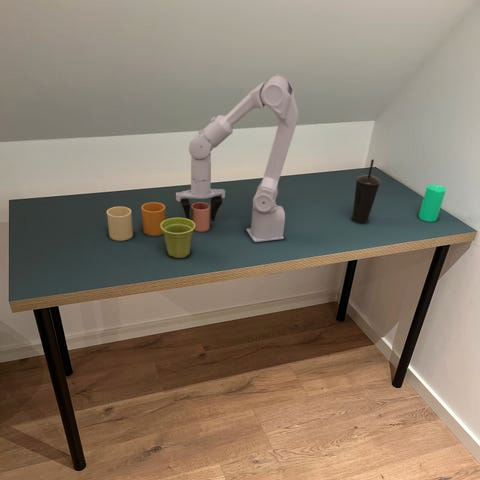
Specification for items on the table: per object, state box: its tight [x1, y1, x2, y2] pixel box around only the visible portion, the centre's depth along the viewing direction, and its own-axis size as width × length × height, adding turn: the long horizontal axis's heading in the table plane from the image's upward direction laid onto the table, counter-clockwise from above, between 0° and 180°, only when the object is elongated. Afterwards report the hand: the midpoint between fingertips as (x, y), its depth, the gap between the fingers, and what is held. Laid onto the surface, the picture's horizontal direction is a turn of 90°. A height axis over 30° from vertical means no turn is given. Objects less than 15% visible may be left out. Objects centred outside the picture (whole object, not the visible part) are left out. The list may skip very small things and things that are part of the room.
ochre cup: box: [140, 201, 167, 237], centre depth 151 cm, size 7×7×8 cm
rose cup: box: [190, 201, 211, 232], centre depth 155 cm, size 6×6×7 cm
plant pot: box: [160, 217, 195, 259], centre depth 141 cm, size 9×9×9 cm
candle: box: [418, 183, 447, 222], centre depth 168 cm, size 6×6×12 cm
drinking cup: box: [351, 158, 382, 224], centre depth 161 cm, size 8×8×20 cm
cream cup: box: [106, 206, 134, 242], centre depth 148 cm, size 7×7×8 cm
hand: (200, 220), depth 156 cm, fingers open, 7 cm apart
